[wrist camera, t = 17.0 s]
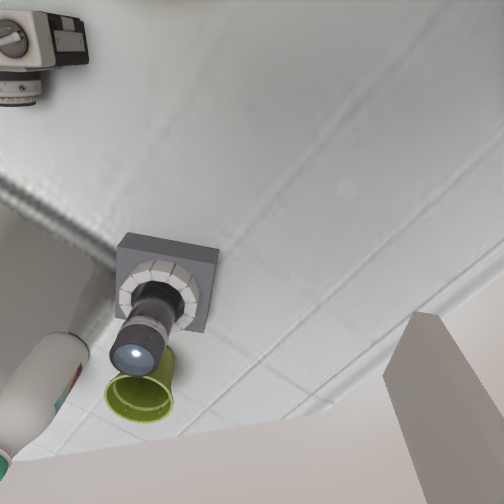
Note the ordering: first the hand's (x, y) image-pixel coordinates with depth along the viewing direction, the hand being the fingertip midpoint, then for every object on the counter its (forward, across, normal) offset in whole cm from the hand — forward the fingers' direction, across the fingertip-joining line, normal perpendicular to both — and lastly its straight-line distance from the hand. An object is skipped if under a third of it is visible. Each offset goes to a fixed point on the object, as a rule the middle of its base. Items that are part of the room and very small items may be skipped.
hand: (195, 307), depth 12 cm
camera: (+35, +25, -2) cm, 43 cm away
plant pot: (+35, +8, +37) cm, 51 cm away
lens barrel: (+31, +7, +22) cm, 38 cm away
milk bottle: (+35, +22, +39) cm, 57 cm away
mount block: (+35, +7, +22) cm, 42 cm away
